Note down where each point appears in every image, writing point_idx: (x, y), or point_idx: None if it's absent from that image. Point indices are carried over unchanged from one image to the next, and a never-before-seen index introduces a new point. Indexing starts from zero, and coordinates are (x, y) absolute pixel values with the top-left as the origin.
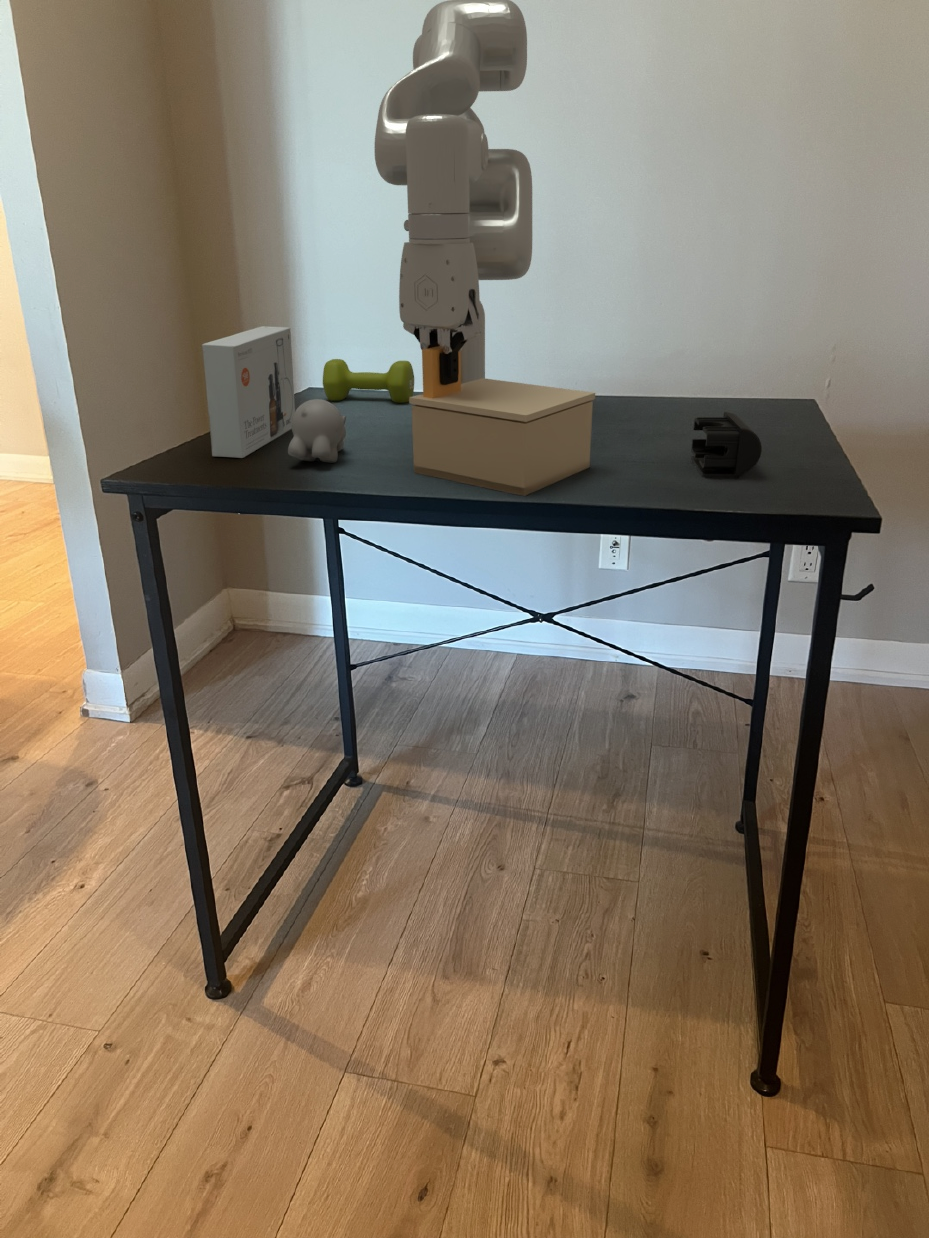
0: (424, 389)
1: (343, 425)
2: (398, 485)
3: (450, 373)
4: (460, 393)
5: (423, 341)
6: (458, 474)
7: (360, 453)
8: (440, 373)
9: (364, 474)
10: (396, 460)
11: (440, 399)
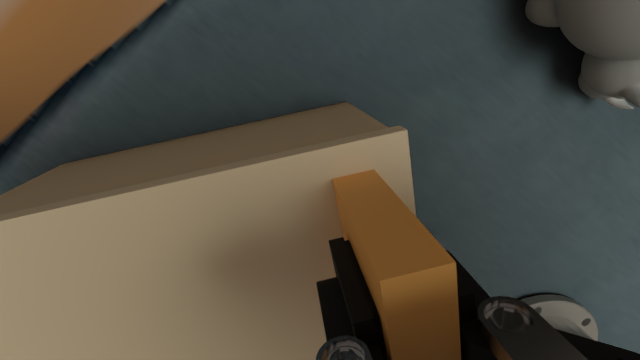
0: (374, 179)
1: (586, 40)
2: (294, 12)
3: (320, 287)
4: None
5: (530, 338)
6: (226, 130)
7: (534, 107)
8: (348, 258)
9: (414, 9)
10: (440, 131)
11: (299, 188)
